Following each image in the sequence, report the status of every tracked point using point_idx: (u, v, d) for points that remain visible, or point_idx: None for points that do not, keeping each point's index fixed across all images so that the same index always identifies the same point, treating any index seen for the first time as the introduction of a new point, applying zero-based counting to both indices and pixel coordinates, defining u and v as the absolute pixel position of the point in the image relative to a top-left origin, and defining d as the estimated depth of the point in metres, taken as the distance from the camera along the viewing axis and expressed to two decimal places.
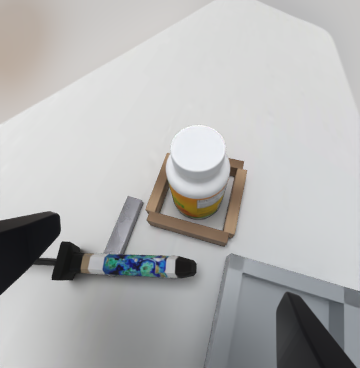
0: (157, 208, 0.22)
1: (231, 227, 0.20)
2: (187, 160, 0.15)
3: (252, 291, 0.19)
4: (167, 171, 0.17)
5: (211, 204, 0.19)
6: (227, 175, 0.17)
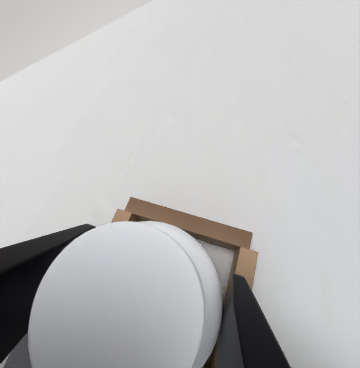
0: None
1: None
2: None
3: None
4: None
5: None
6: (214, 340, 0.06)
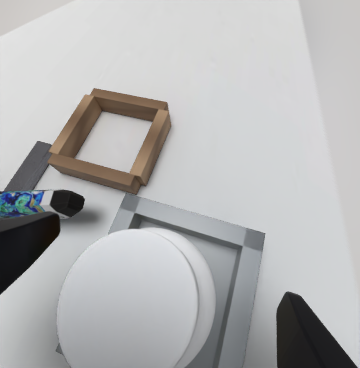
0: (64, 151, 0.19)
1: (138, 169, 0.17)
2: (92, 348, 0.05)
3: None
4: None
5: None
6: (208, 330, 0.07)
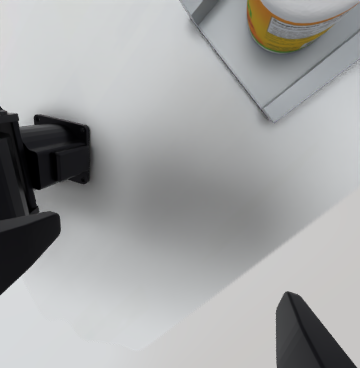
0: None
1: None
2: None
3: None
4: None
5: (291, 37, 0.11)
6: None
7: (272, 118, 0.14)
